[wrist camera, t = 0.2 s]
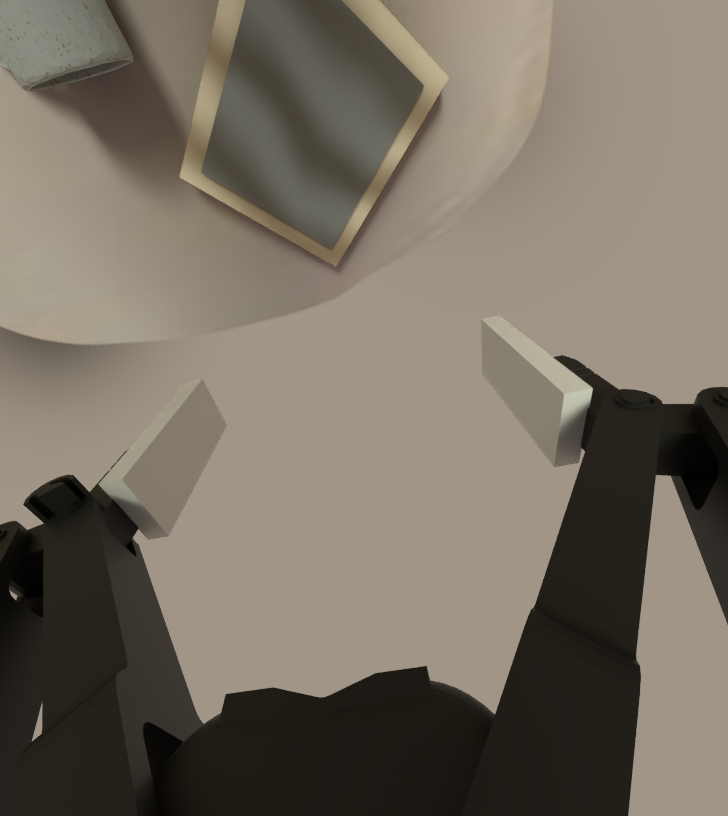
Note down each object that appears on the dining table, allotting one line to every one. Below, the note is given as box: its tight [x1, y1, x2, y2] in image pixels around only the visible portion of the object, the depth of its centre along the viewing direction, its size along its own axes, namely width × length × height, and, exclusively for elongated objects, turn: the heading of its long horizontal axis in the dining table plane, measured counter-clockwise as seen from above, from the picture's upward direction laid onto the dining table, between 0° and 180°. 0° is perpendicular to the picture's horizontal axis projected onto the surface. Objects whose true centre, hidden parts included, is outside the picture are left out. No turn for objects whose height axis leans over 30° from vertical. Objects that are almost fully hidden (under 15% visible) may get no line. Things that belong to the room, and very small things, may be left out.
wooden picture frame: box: [179, 0, 449, 267], centre depth 29 cm, size 18×16×3 cm
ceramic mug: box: [0, 0, 134, 91], centre depth 21 cm, size 11×8×8 cm
